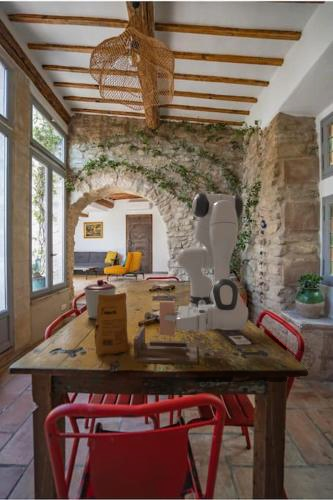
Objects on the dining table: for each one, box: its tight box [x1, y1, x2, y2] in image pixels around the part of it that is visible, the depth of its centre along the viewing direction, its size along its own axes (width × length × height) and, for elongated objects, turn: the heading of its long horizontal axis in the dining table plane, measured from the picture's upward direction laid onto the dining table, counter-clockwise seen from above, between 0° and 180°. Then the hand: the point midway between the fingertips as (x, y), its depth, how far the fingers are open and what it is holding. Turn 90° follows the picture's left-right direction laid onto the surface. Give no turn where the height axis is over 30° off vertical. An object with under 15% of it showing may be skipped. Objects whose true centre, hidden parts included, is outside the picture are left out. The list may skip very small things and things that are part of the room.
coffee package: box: [94, 292, 129, 356], centre depth 107 cm, size 10×12×22 cm
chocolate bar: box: [218, 329, 255, 346], centre depth 122 cm, size 9×1×18 cm
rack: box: [133, 325, 199, 365], centre depth 103 cm, size 16×22×8 cm
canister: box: [83, 279, 117, 320], centre depth 156 cm, size 18×18×21 cm
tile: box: [159, 300, 176, 336], centre depth 103 cm, size 2×6×12 cm, turn 85°
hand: (165, 316), depth 103 cm, fingers closed on tile, 2 cm apart
